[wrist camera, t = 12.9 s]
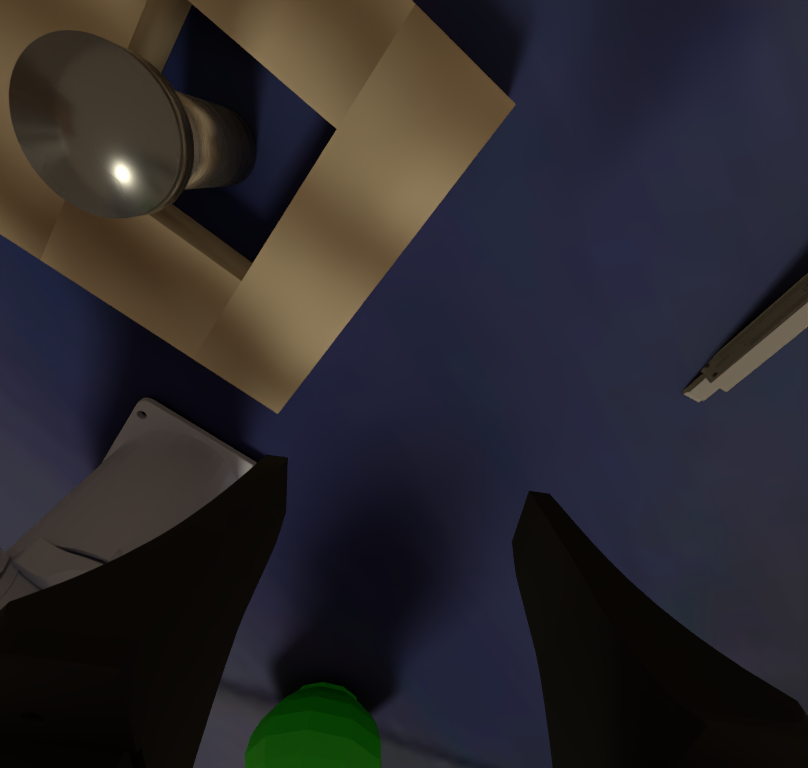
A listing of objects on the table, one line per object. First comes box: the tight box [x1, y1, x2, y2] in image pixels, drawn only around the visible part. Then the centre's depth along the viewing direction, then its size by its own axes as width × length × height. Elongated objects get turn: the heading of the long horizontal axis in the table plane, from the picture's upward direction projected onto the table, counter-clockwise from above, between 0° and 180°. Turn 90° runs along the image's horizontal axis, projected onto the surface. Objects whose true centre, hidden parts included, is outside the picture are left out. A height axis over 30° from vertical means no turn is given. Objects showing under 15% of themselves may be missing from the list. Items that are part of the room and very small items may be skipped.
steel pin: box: [9, 30, 256, 219], centre depth 15 cm, size 4×4×8 cm
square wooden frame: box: [0, 0, 516, 414], centre depth 18 cm, size 16×16×2 cm
